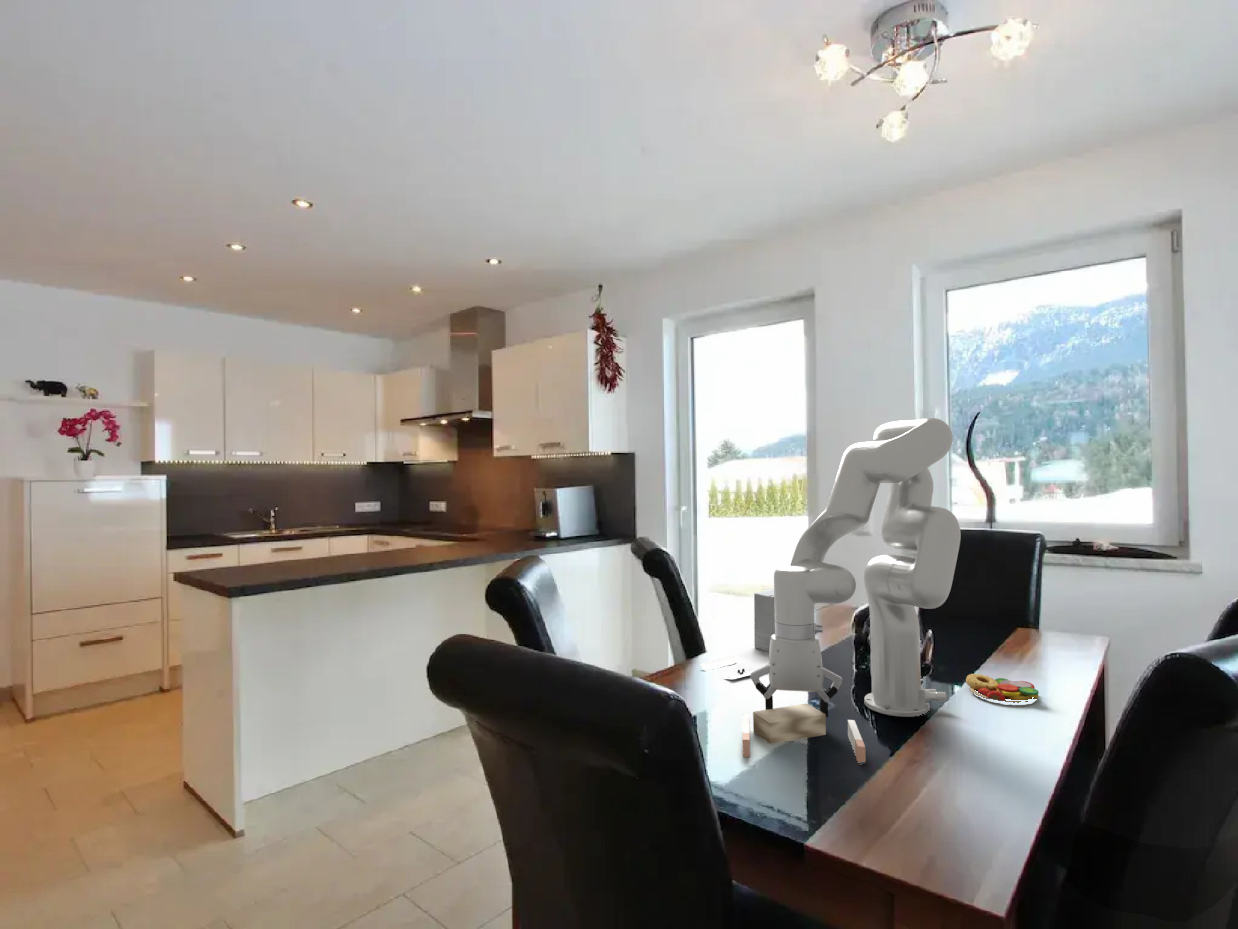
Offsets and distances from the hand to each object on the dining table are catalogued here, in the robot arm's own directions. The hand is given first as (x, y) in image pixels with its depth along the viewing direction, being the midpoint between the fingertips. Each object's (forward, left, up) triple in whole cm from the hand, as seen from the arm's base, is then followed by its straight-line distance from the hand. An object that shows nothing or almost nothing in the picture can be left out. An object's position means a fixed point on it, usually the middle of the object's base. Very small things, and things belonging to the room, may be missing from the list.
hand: (796, 718), depth 128 cm
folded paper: (+13, -34, -2) cm, 36 cm away
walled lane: (0, +9, -2) cm, 9 cm away
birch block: (+1, +3, -2) cm, 4 cm away
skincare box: (+3, -57, -2) cm, 57 cm away
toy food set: (-45, -24, -2) cm, 51 cm away
